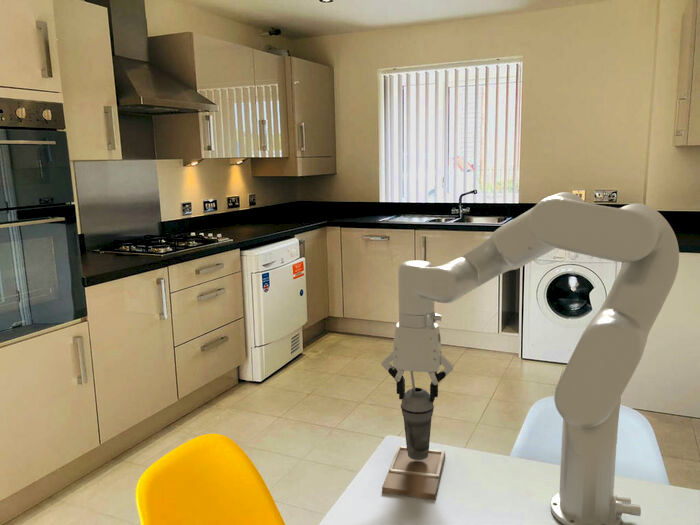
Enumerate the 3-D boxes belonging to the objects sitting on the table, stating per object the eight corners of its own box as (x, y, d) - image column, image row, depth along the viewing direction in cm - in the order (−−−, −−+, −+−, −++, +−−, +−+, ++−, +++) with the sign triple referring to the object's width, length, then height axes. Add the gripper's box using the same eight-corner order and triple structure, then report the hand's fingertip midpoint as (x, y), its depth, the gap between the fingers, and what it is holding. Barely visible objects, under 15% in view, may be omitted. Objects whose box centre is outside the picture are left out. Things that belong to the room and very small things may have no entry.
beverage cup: (433, 464, 126) (432, 376, 122) (399, 462, 128) (398, 375, 124) (435, 447, 133) (434, 364, 129) (403, 445, 135) (401, 363, 131)
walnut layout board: (445, 457, 135) (445, 450, 134) (435, 499, 119) (435, 492, 118) (398, 451, 138) (398, 445, 138) (382, 492, 122) (382, 485, 121)
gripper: (459, 316, 126) (459, 394, 129) (380, 312, 130) (382, 388, 134) (455, 326, 119) (455, 409, 122) (372, 321, 123) (374, 402, 127)
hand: (417, 397), depth 128 cm, fingers closed on beverage cup, 6 cm apart
